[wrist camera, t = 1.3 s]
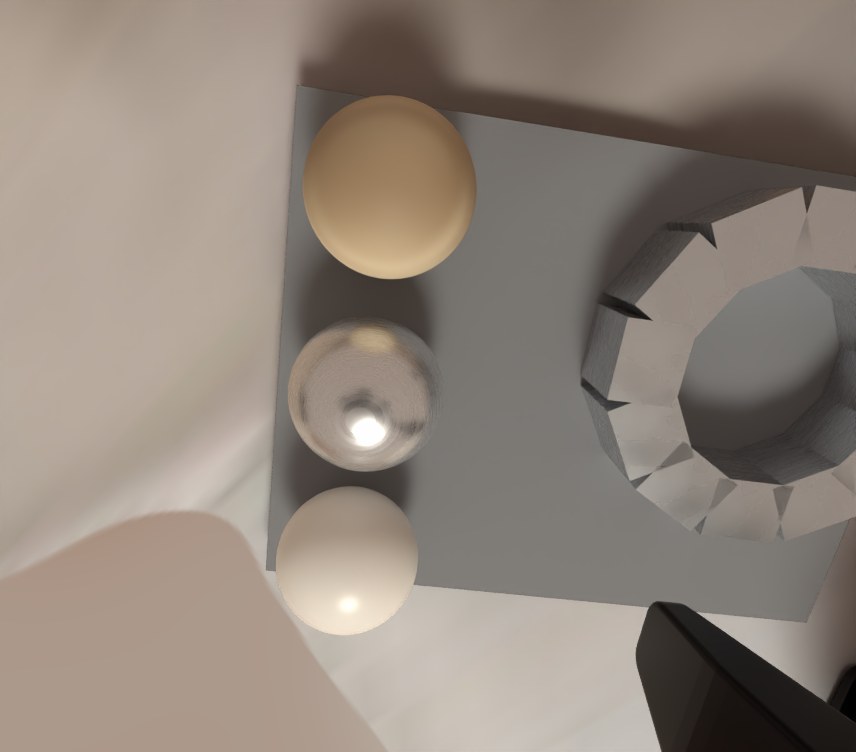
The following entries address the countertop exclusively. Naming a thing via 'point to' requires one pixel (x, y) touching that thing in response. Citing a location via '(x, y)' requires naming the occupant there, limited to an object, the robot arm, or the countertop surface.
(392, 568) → the plastic ball
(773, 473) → the crimped metal cup
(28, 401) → the countertop surface
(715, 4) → the countertop surface
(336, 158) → the tan wooden ball
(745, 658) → the robot arm
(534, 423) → the mat
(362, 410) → the steel ball
